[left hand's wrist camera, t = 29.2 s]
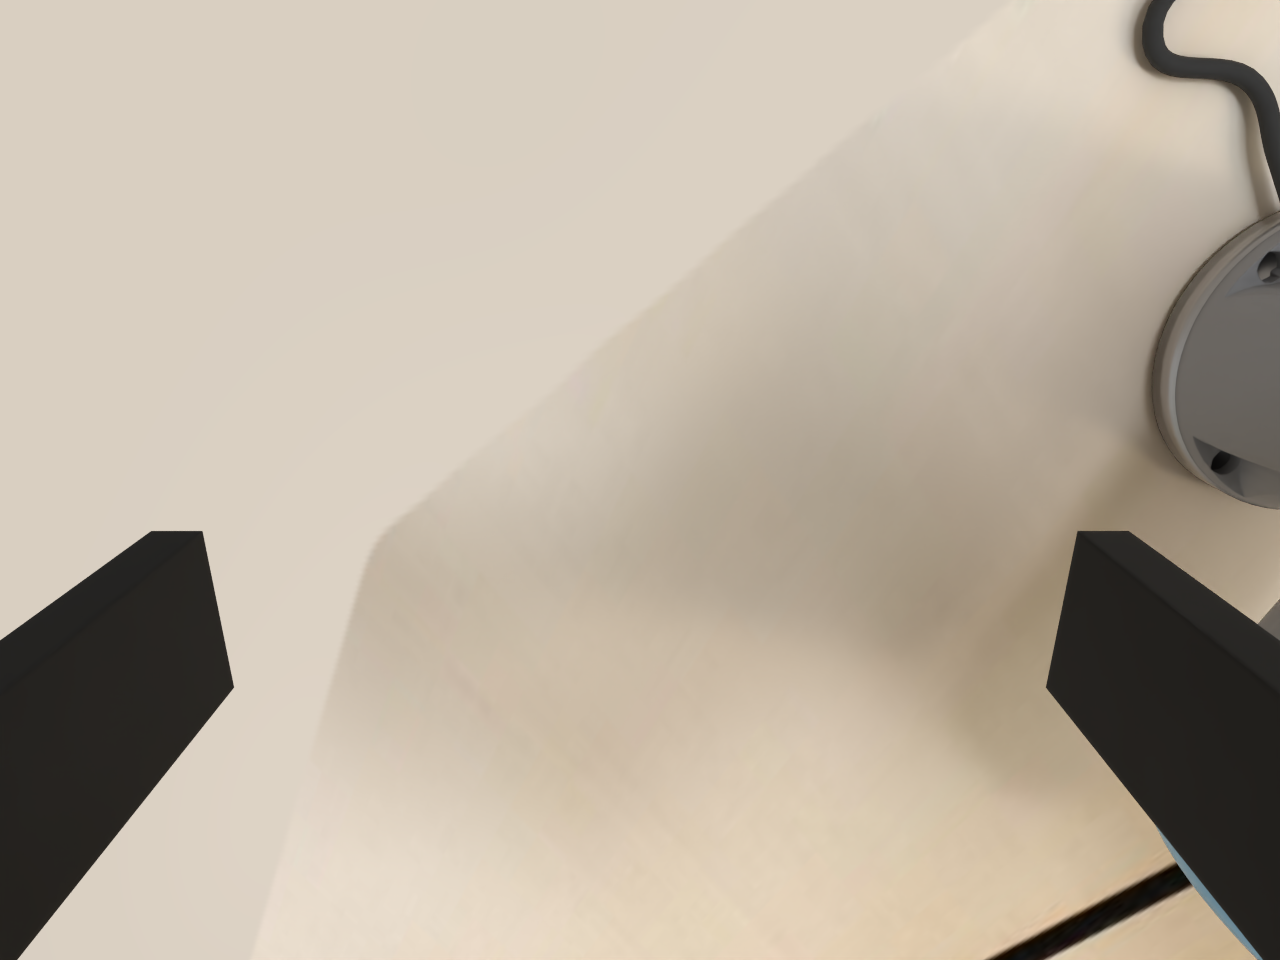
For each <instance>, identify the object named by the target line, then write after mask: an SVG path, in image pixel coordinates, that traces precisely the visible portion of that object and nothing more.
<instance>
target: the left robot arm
mask: <svg viewBox="0 0 1280 960" xmlns="http://www.w3.org/2000/svg"><path fill="white" fill-rule="evenodd" d="M1174 1H1175V0H1153V1H1152V3H1151V4H1150V6H1149V7H1148V10H1147V13H1146V16H1145V19H1144V22H1143V26H1142V45H1143V48H1144V52H1145V56H1146V57H1147V59H1148V60H1149V62H1150V63H1151V65H1152V66H1153V67H1154V68H1156V69H1157V70H1158V71H1160V72H1162V73H1164V74H1167V75H1170V76H1175V77H1182V78H1200V79H1215V80H1222V81H1226V82H1230V83H1233V84H1235V85H1237V86H1239V87H1240V88H1241V89H1242V90H1243V91H1244V92H1246V94H1247V95H1248V96H1249V98H1250V99H1251V101H1252V103H1253V105H1254V107H1255V110H1256V113H1257V117H1258V121H1259V127H1260V133H1261V138H1262V144H1263V148H1264V153H1265V156H1266V159H1267V163H1268V166H1269V169H1270V172H1271V175H1272V178H1273V182H1274V185H1275V188H1276V191H1277V195H1278V198H1279V201H1280V112H1279V107H1278V104H1277V101H1276V98H1275V95H1274V93H1273V91H1272V89H1271V88H1270V86H1269V84H1268V83H1267V82H1266V80H1265V79H1264V78H1263V77H1262V76H1261V75H1260V74H1259V73H1258V72H1257V71H1256V70H1254V69H1253V68H1251V67H1249V66H1247V65H1245V64H1243V63H1239V62H1236V61H1232V60H1225V59H1213V58H1193V57H1185V56H1179V55H1177V54H1174V53H1172V52H1171V51H1169V50H1168V48H1167V47H1166V45H1165V42H1164V38H1163V23H1164V20H1165V17H1166V14H1167V11H1168V10H1169V8H1170V7H1171V5H1172V4H1173V2H1174ZM1152 397H1153V406H1154V412H1155V417H1156V420H1157V423H1158V427H1159V429H1160V432H1161V434H1162V436H1163V439H1164V441H1165V442H1166V444H1167V446H1168V448H1169V449H1170V451H1171V452H1172V453H1173V455H1174V456H1175V457H1176V459H1177V460H1178V461H1179V462H1180V463H1181V464H1182V465H1183V466H1184V467H1185V468H1186V469H1187V470H1188V471H1190V472H1191V473H1192V474H1193V475H1195V476H1196V477H1198V478H1199V479H1201V480H1202V481H1204V482H1206V483H1207V484H1209V485H1211V486H1213V487H1215V488H1217V489H1218V490H1220V491H1222V492H1224V493H1226V494H1228V495H1230V496H1232V497H1234V498H1236V499H1238V500H1240V501H1243V502H1246V503H1249V504H1252V505H1256V506H1260V507H1264V508H1271V509H1279V510H1280V212H1277V213H1275V214H1273V215H1271V216H1269V217H1267V218H1265V219H1263V220H1262V221H1260V222H1258V223H1256V224H1255V225H1253V226H1251V227H1250V228H1248V229H1247V230H1245V231H1244V232H1242V233H1241V234H1239V235H1238V236H1237V237H1235V238H1234V239H1233V240H1232V241H1230V242H1229V243H1228V244H1227V245H1225V246H1224V247H1223V248H1222V249H1221V250H1220V251H1219V252H1218V253H1217V254H1215V255H1214V256H1213V257H1212V258H1211V259H1210V260H1209V261H1208V262H1207V264H1206V265H1205V266H1204V267H1203V268H1202V269H1201V270H1200V271H1199V272H1198V274H1197V275H1196V276H1195V277H1194V279H1193V280H1192V281H1191V282H1190V284H1189V285H1188V286H1187V288H1186V289H1185V291H1184V292H1183V294H1182V295H1181V297H1180V298H1179V300H1178V302H1177V303H1176V305H1175V307H1174V309H1173V311H1172V312H1171V314H1170V316H1169V319H1168V321H1167V323H1166V325H1165V328H1164V330H1163V333H1162V336H1161V339H1160V341H1159V344H1158V348H1157V352H1156V356H1155V362H1154V368H1153V378H1152ZM233 688H234V685H233V680H232V675H231V670H230V666H229V661H228V656H227V650H226V646H225V641H224V636H223V631H222V626H221V621H220V616H219V611H218V606H217V601H216V596H215V591H214V586H213V581H212V576H211V571H210V566H209V562H208V557H207V552H206V547H205V542H204V537H203V532H202V531H151V532H149V533H148V534H147V535H145V536H144V537H143V538H141V539H140V540H138V541H137V542H136V543H134V544H133V545H132V546H130V547H129V548H127V549H126V550H125V551H123V552H122V553H120V554H119V555H118V556H116V557H115V558H114V559H112V560H111V561H109V562H108V563H107V564H105V565H104V566H102V567H101V568H100V569H98V570H97V571H96V572H94V573H93V574H91V575H90V576H89V577H87V578H86V579H84V580H83V581H82V582H80V583H79V584H78V585H76V586H75V587H73V588H72V589H71V590H69V591H68V592H67V593H65V594H64V595H62V596H61V597H60V598H58V599H57V600H55V601H54V602H53V603H51V604H50V605H49V606H47V607H46V608H44V609H43V610H42V611H40V612H39V613H38V614H36V615H35V616H33V617H32V618H31V619H29V620H28V621H26V622H25V623H24V624H22V625H21V626H20V627H18V628H17V629H15V630H14V631H13V632H11V633H10V634H9V635H7V636H6V637H4V638H3V639H2V640H0V960H17V959H18V958H19V957H20V956H21V954H22V953H23V952H24V950H25V949H26V948H27V947H28V945H29V944H30V943H31V942H32V940H33V939H34V938H35V937H36V935H37V934H38V933H39V932H40V930H41V929H42V928H43V927H44V925H45V924H46V923H47V922H48V920H49V919H50V918H51V917H52V915H53V914H54V913H55V912H56V910H57V909H58V908H59V907H60V905H61V904H62V903H63V902H64V900H65V899H66V898H67V897H68V895H69V894H70V893H71V892H72V890H73V889H74V888H75V886H76V885H77V884H78V883H79V881H80V880H81V879H82V878H83V876H84V875H85V874H86V873H87V871H88V870H89V869H90V868H91V866H92V865H93V864H94V863H95V861H96V860H97V859H98V857H99V856H100V855H101V854H102V853H103V851H104V850H105V849H106V848H107V846H108V845H109V844H110V842H111V841H112V840H113V839H114V838H115V836H116V835H117V834H118V832H119V831H120V830H121V829H122V827H123V826H124V825H125V824H126V822H127V821H128V820H129V819H130V817H131V816H132V815H133V814H134V812H135V811H136V810H137V809H138V807H139V806H140V805H141V804H142V802H143V801H144V800H145V799H146V797H147V796H148V795H149V794H150V792H151V791H152V790H153V788H154V787H155V786H156V785H157V784H158V782H159V781H160V780H161V778H162V777H163V776H164V775H165V773H166V772H167V771H168V770H169V768H170V767H171V766H172V765H173V763H174V762H175V761H176V760H177V758H178V757H179V756H180V755H181V753H182V752H183V751H184V750H185V748H186V747H187V746H188V745H189V743H190V742H191V741H192V740H193V738H194V737H195V736H196V735H197V733H198V732H199V731H200V730H201V728H202V727H203V726H204V724H205V723H206V722H207V721H208V719H209V718H210V717H211V716H212V714H213V713H214V712H215V711H216V709H217V708H218V707H219V706H220V704H221V703H222V702H223V701H224V699H225V698H226V697H227V696H228V694H229V693H230V692H231V691H232V689H233ZM1046 688H1047V689H1048V691H1049V692H1050V693H1051V694H1052V696H1053V697H1054V698H1055V699H1056V701H1057V702H1058V703H1059V704H1060V706H1061V707H1062V708H1063V709H1064V711H1065V712H1066V713H1067V714H1068V716H1069V717H1070V718H1071V719H1072V721H1073V722H1074V723H1075V724H1076V726H1077V727H1078V728H1079V730H1080V731H1081V732H1082V733H1083V735H1084V736H1085V737H1086V738H1087V740H1088V741H1089V742H1090V743H1091V745H1092V746H1093V747H1094V748H1095V750H1096V751H1097V752H1098V753H1099V755H1100V756H1101V757H1102V758H1103V760H1104V761H1105V762H1106V763H1107V765H1108V766H1109V767H1110V768H1111V770H1112V771H1113V772H1114V773H1115V775H1116V776H1117V777H1118V778H1119V780H1120V781H1121V782H1122V784H1123V785H1124V786H1125V787H1126V789H1127V790H1128V791H1129V792H1130V794H1131V795H1132V796H1133V797H1134V799H1135V800H1136V801H1137V802H1138V804H1139V805H1140V806H1141V807H1142V809H1143V810H1144V811H1145V812H1146V814H1147V815H1148V816H1149V817H1150V819H1151V820H1152V821H1153V822H1154V824H1155V825H1156V827H1157V829H1158V831H1159V833H1160V835H1161V837H1162V839H1163V841H1164V843H1165V844H1166V846H1167V848H1168V849H1169V851H1170V853H1171V854H1172V856H1173V857H1174V859H1175V861H1176V862H1177V864H1178V865H1179V867H1180V868H1181V869H1182V871H1183V872H1184V874H1185V875H1186V877H1187V878H1188V879H1189V881H1190V882H1191V884H1192V885H1193V886H1194V888H1195V889H1196V890H1197V891H1198V893H1199V894H1200V895H1201V897H1202V898H1203V899H1204V900H1205V902H1206V903H1207V904H1208V905H1209V906H1210V908H1211V909H1212V910H1213V911H1214V913H1215V914H1216V915H1217V916H1218V917H1219V918H1220V920H1221V921H1222V922H1223V923H1224V924H1225V925H1226V926H1227V928H1228V929H1229V930H1230V931H1231V932H1232V933H1233V934H1234V935H1235V937H1236V938H1237V939H1238V940H1239V941H1240V942H1241V943H1242V944H1243V945H1244V946H1245V947H1246V948H1247V949H1248V950H1249V951H1250V952H1251V953H1252V955H1253V956H1254V957H1255V958H1256V959H1257V960H1280V599H1279V600H1278V602H1277V603H1276V604H1275V605H1274V606H1273V607H1272V608H1271V610H1270V611H1269V612H1268V613H1267V614H1266V615H1265V616H1264V618H1263V619H1262V620H1261V621H1260V622H1259V623H1258V624H1256V623H1255V622H1254V621H1252V620H1251V619H1249V618H1248V617H1247V616H1245V615H1244V614H1243V613H1241V612H1240V611H1238V610H1237V609H1236V608H1234V607H1233V606H1231V605H1230V604H1229V603H1227V602H1226V601H1225V600H1223V599H1222V598H1220V597H1219V596H1218V595H1216V594H1215V593H1213V592H1212V591H1211V590H1209V589H1208V588H1207V587H1205V586H1204V585H1202V584H1201V583H1200V582H1198V581H1197V580H1196V579H1194V578H1193V577H1191V576H1190V575H1189V574H1187V573H1186V572H1184V571H1183V570H1182V569H1180V568H1179V567H1178V566H1176V565H1175V564H1173V563H1172V562H1171V561H1169V560H1168V559H1166V558H1165V557H1164V556H1162V555H1161V554H1160V553H1158V552H1157V551H1155V550H1154V549H1153V548H1151V547H1150V546H1149V545H1147V544H1146V543H1144V542H1143V541H1142V540H1140V539H1139V538H1137V537H1136V536H1135V535H1133V534H1132V533H1131V532H1129V531H1078V532H1077V537H1076V542H1075V547H1074V552H1073V556H1072V561H1071V566H1070V571H1069V576H1068V581H1067V586H1066V591H1065V596H1064V601H1063V606H1062V611H1061V616H1060V621H1059V626H1058V631H1057V636H1056V641H1055V646H1054V650H1053V655H1052V660H1051V665H1050V670H1049V675H1048V680H1047V685H1046Z"/></svg>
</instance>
